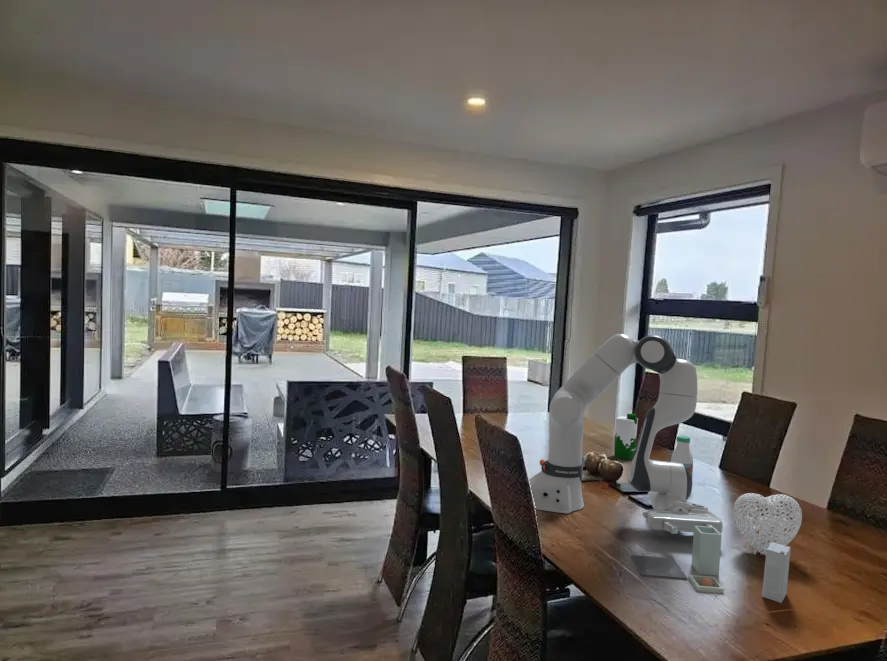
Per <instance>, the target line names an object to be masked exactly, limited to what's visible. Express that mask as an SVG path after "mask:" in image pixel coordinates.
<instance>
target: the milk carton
mask: <svg viewBox="0 0 887 661" xmlns="http://www.w3.org/2000/svg"><path fill="white" fill-rule="evenodd" d="M638 421H639V418H637V414H635V413H627V414H626V416H623V415H621V416H618V417H616V418H615V425H614V426H615V427H614V428H615V429H614V452H613V453H614V458H617V459H621V460H627V461H632V459H633V456H634V453H635V449H636V445H637V439H638V438H637V436H638V435H637V433H638V423H639V422H638Z"/></svg>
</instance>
